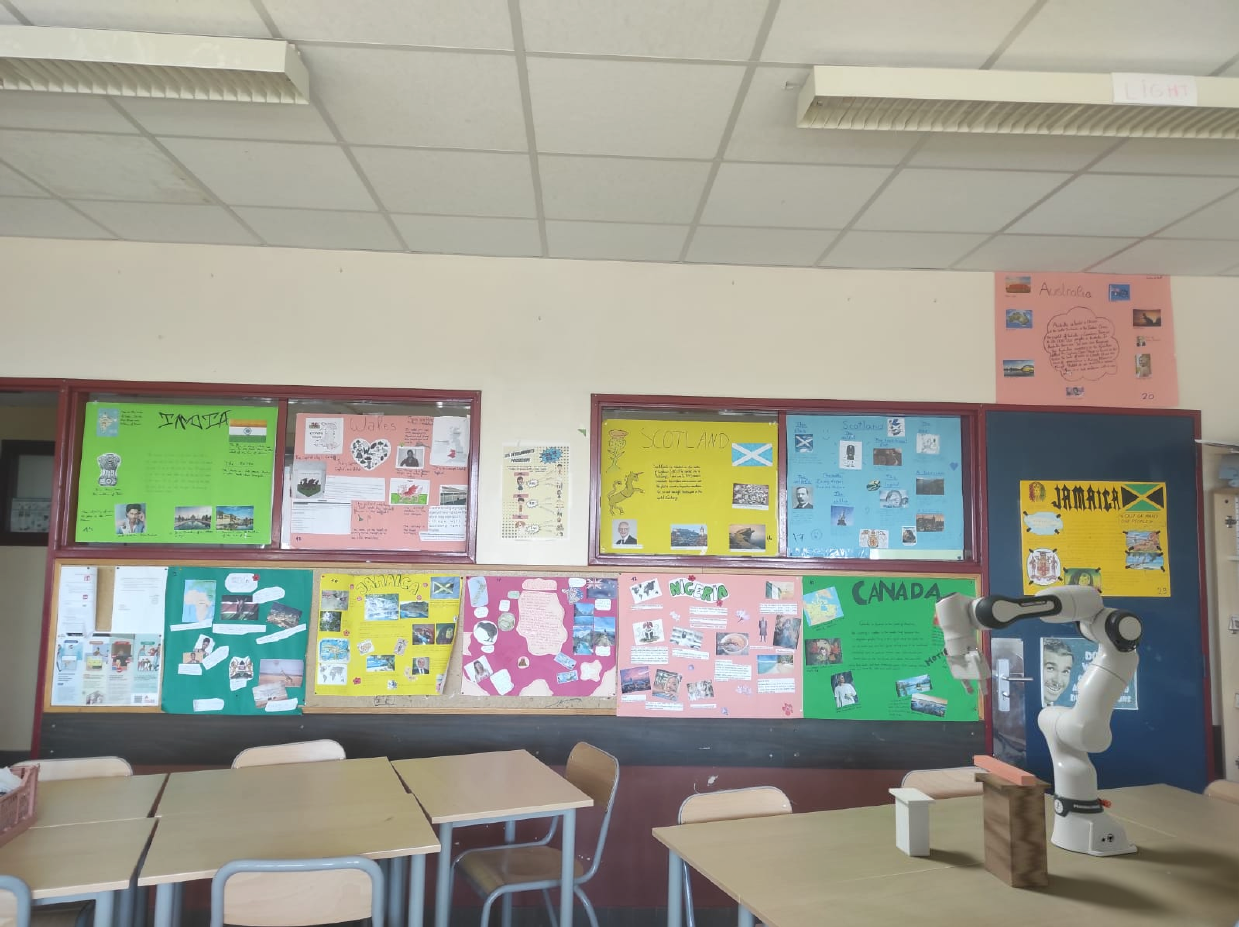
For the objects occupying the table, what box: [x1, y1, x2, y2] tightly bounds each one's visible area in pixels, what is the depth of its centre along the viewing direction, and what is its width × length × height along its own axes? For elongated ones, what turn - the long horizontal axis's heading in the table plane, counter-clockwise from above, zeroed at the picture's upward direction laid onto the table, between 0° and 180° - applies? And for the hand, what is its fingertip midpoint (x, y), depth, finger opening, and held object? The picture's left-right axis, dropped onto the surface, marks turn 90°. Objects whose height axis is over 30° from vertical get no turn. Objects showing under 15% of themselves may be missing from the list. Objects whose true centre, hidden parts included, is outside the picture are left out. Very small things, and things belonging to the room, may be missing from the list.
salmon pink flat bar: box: [973, 754, 1037, 786], centre depth 222 cm, size 4×22×2 cm, turn 7°
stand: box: [888, 787, 936, 857], centre depth 235 cm, size 8×12×16 cm, turn 7°
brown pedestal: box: [973, 771, 1052, 888], centre depth 217 cm, size 14×13×25 cm
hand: (977, 694), depth 242 cm, fingers open, 8 cm apart
